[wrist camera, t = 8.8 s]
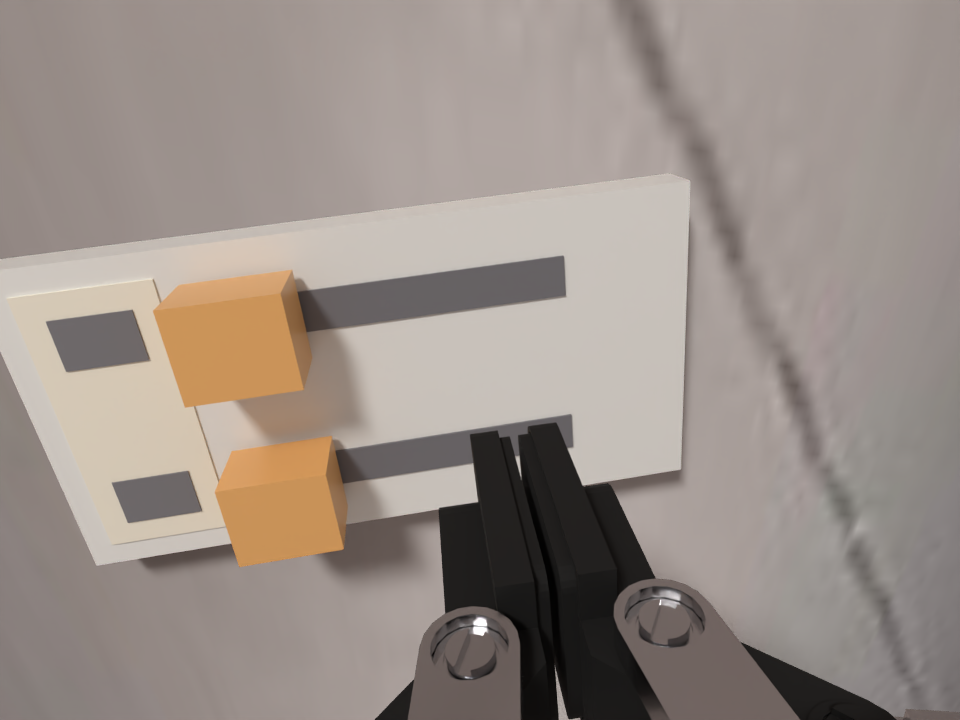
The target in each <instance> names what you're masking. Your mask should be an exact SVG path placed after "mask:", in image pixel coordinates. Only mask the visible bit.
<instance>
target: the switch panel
mask: <svg viewBox="0 0 960 720" xmlns="http://www.w3.org/2000/svg"><path fill="white" fill-rule="evenodd" d="M689 206H690V180H687V179H684V178H681V177H678V176H676V175H673V174H670V173H668V174H660V175H652V176H644V177H637V178H629V179H621V180H613V181H605V182H598V183H590V184H582V185H574V186H566V187H559V188H551V189H543V190H535V191H527V192H520V193H512V194H504V195H496V196H489V197H481V198H473V199H465V200H457V201H450V202H442V203H434V204H426V205H418V206H411V207H403V208H395V209H387V210H379V211H372V212H364V213H356V214H348V215H340V216H333V217H325V218H317V219H309V220H301V221H294V222H286V223H278V224H270V225H262V226H255V227H247V228H239V229H231V230H223V231H216V232H208V233H200V234H192V235H184V236H177V237H169V238H161V239H153V240H145V241H138V242H130V243H122V244H114V245H106V246H99V247H91V248H83V249H75V250H67V251H60V252H52V253H44V254H36V255H28V256H21V257H13V258H5V259H0V352H1V354H2V356H3V358H4V361H5V363H6V365H7V367H8V370H9V372H10V374H11V376H12V378H13V381H14V383H15V385H16V387H17V390H18V392H19V394H20V396H21V398H22V401H23V403H24V405H25V407H26V410H27V412H28V414H29V416H30V419H31V421H32V423H33V425H34V427H35V430H36V432H37V434H38V436H39V439H40V441H41V443H42V445H43V447H44V450H45V452H46V454H47V456H48V459H49V461H50V463H51V465H52V467H53V470H54V472H55V474H56V476H57V479H58V481H59V483H60V485H61V487H62V490H63V492H64V494H65V496H66V499H67V501H68V503H69V505H70V507H71V510H72V512H73V514H74V516H75V519H76V521H77V523H78V525H79V528H80V530H81V532H82V534H83V536H84V539H85V541H86V543H87V545H88V548H89V550H90V552H91V554H92V556H93V559H94V561H95V563H96V565H97V566H98V565H104V564H110V563H116V562H122V561H128V560H134V559H140V558H146V557H152V556H158V555H164V554H170V553H176V552H183V551H189V550H195V549H201V548H207V547H213V546H219V545H225V544H231V540H230V537H229V534H228V531H227V528H226V525H225V522H224V519H223V516H222V513H221V510H220V507H219V504H218V501H217V498H216V495H215V490H216V487H217V485H218V483H219V480H220V478H221V475H222V473H223V471H224V468H225V466H226V463H227V461H228V459H229V456H230V454H231V451H236V450H243V449H249V448H256V447H262V446H269V445H275V444H282V443H288V442H295V441H301V440H308V439H314V438H321V437H327V436H332V439H333V443H334V447H335V452H336V456H337V460H338V465H339V469H340V473H341V478H342V482H343V486H344V491H345V495H346V500H347V504H348V511H347V521H346V525H347V524H353V523H359V522H365V521H371V520H377V519H383V518H389V517H395V516H401V515H407V514H413V513H419V512H426V511H432V510H438V509H439V508H441V507H447V506H454V505H461V504H468V503H475V502H478V497H477V489H476V481H475V473H474V466H473V458H472V450H471V442H470V434H475V433H482V432H489V431H496V430H497V431H498V434H499V438H500V437H507V436H510V439H511V443H512V446H513V450H514V454H515V457H516V461H517V465H518V469H519V472H520V476H521V468H520V456H519V445H518V435H522V434H528V426H532V425H539V424H546V423H553V422H556V423H557V425H558V427H559V429H560V432H561V434H562V437H563V439H564V441H565V444H566V446H567V449H568V451H569V454H570V456H571V458H572V461H573V463H574V466H575V468H576V471H577V473H578V475H579V478H580V480H581V483H582V485H590V484H596V483H602V482H608V481H614V480H620V479H626V478H632V477H638V476H644V475H650V474H656V473H662V472H668V471H675V470H681V452H682V421H683V391H684V360H685V329H686V298H687V267H688V237H689ZM286 270H292V271H293V275H294V280H295V284H296V288H297V293H298V297H299V301H300V306H301V310H302V314H303V319H304V323H305V327H306V332H307V336H308V340H309V345H310V349H311V353H312V362H311V365H310V369H309V373H308V376H307V380H306V384H305V388H304V390H301V391H294V392H287V393H281V394H274V395H267V396H260V397H254V398H247V399H240V400H233V401H227V402H220V403H213V404H206V405H200V406H193V407H186V408H185V406H184V403H183V400H182V397H181V394H180V391H179V388H178V385H177V382H176V379H175V376H174V373H173V370H172V367H171V364H170V361H169V358H168V355H167V352H166V349H165V346H164V343H163V340H162V337H161V334H160V331H159V328H158V325H157V322H156V319H155V316H154V313H153V310H154V309H155V308H156V307H157V306H158V305H159V304H160V303H161V302H162V301H163V300H164V299H165V298H166V297H167V296H168V295H169V294H170V293H171V292H172V291H173V290H174V289H175V288H176V287H177V286H178V285H182V284H189V283H196V282H204V281H211V280H219V279H226V278H234V277H241V276H249V275H256V274H264V273H271V272H279V271H286ZM521 480H522V479H521Z"/></svg>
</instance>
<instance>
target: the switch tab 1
mask: <svg viewBox="0 0 960 720" xmlns="http://www.w3.org/2000/svg"><path fill="white" fill-rule="evenodd" d="M153 313H154V316H155V319H156V322H157V325H158V328H159V331H160V334H161V337H162V340H163V343H164V346H165V349H166V352H167V355H168V358H169V361H170V364H171V367H172V370H173V373H174V376H175V379H176V382H177V385H178V388H179V391H180V394H181V397H182V400H183V403H184V406H185V408H186V407H193V406H200V405H206V404H213V403H220V402H227V401H233V400H240V399H247V398H254V397H260V396H267V395H274V394H281V393H287V392H294V391H301V390H304V388H305V384H306V380H307V376H308V373H309V369H310V365H311V362H312V353H311V349H310V345H309V340H308V336H307V332H306V327H305V323H304V319H303V314H302V310H301V306H300V301H299V297H298V293H297V288H296V284H295V280H294V275H293V271H292V270H286V271H279V272H271V273H264V274H256V275H249V276H241V277H234V278H226V279H219V280H211V281H204V282H196V283H189V284H182V285H178V286H177V287H176V288H175V289H174V290H173V291H172V292H171V293H170V294H169V295H168V296H167V297H166V298H165V299H164V300H163V301H162V302H161V303H160V304H159V305H158V306H157V307H156V308H155V309H154V310H153Z"/></svg>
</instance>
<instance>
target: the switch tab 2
mask: <svg viewBox="0 0 960 720" xmlns="http://www.w3.org/2000/svg"><path fill="white" fill-rule="evenodd" d="M215 495H216V498H217V501H218V504H219V507H220V510H221V513H222V516H223V519H224V522H225V525H226V528H227V531H228V534H229V537H230V540H231V543H232V546H233V549H234V552H235V555H236V558H237V561H238V564H239V567H242V566H248V565H254V564H260V563H266V562H272V561H278V560H284V559H290V558H296V557H302V556H308V555H314V554H320V553H326V552H332V551H338V550H344V543H345V532H346V521H347V511H348V504H347V500H346V495H345V491H344V486H343V482H342V478H341V473H340V469H339V465H338V460H337V456H336V452H335V447H334V443H333V439H332V436H327V437H321V438H314V439H308V440H301V441H295V442H288V443H282V444H275V445H269V446H262V447H256V448H249V449H243V450H236V451H231V454H230V456H229V459H228V461H227V463H226V466H225V468H224V471H223V473H222V475H221V478H220V480H219V483H218V485H217V487H216V490H215Z"/></svg>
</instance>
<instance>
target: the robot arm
mask: <svg viewBox="0 0 960 720" xmlns="http://www.w3.org/2000/svg"><path fill="white" fill-rule="evenodd" d="M470 442H471V450H472V458H473V466H474V473H475V481H476V489H477V497H478V502H475V503H468V504H461V505H454V506H447V507H441V508H439V523H440V538H441V553H442V569H443V584H444V599H445V614H444V615H442V616H441V617H440V618H438V619H437V620H436V621H434V622H433V623H432V624H431V626H430V627H429V628H428V630H427V631H426V632H425V633H424V635H423V638H422V641H421V644H420V647H419V653H418V659H417V665H416V672H415V678H414V680H413V681H412V682H411V683H410V684H409V685H408V686H407V687H406V688H405V689H404V690H403V691H402V692H401V693H400V694H399V695H398V696H397V697H396V698H395V699H394V700H393V701H392V702H391V703H390V704H389V705H388V706H387V708H386V709H385V710H384V711H383V712H382V713H381V714H380V715H379V716H378V717H377V718H376V719H375V720H559V718H558V704H557V690H556V677H555V667H556V671H557V675H558V679H559V684H560V688H561V692H562V696H563V700H564V704H565V708H566V712H567V716H568V718H569V719H574V718H580V719H581V720H960V712H949V711H932V710H915V709H906V710H905V714H904V717H893V716H892V715H891V714H890V713H889V712H887V711H886V710H884V709H882V708H880V707H879V706H877V705H875V704H873V703H872V702H870V701H868V700H866V699H864V698H862V697H859V696H857V695H855V694H853V693H851V692H848V691H846V690H844V689H842V688H840V687H838V686H835V685H833V684H831V683H829V682H827V681H824V680H822V679H820V678H818V677H816V676H814V675H811V674H809V673H807V672H805V671H803V670H800V669H798V668H796V667H794V666H792V665H789V664H787V663H785V662H783V661H781V660H779V659H776V658H774V657H772V656H770V655H768V654H765V653H763V652H761V651H759V650H757V649H755V648H752V647H750V646H748V645H746V644H744V643H741V642H740V641H739V640H738V639H737V637H736V636H735V635H734V634H733V632H732V631H731V630H730V628H729V627H728V626H727V625H726V623H725V622H724V621H723V619H722V618H721V617H720V615H719V614H718V613H717V612H716V610H715V609H714V608H713V606H712V605H711V604H710V603H709V602H708V601H707V600H706V599H705V598H704V597H703V596H702V595H701V594H700V593H699V592H698V591H696V590H694V589H693V588H691V587H689V586H687V585H686V584H683V583H679V582H676V581H673V580H667V579H656V578H655V576H654V574H653V572H652V570H651V568H650V566H649V564H648V562H647V559H646V557H645V555H644V553H643V551H642V549H641V547H640V545H639V543H638V541H637V539H636V536H635V534H634V532H633V530H632V528H631V526H630V524H629V522H628V520H627V518H626V516H625V514H624V511H623V509H622V507H621V505H620V503H619V501H618V499H617V497H616V495H615V493H614V491H613V489H612V487H611V485H609V484H608V483H607V484H600V485H593V486H586V487H583V485H582V483H581V480H580V478H579V475H578V473H577V471H576V468H575V466H574V463H573V461H572V458H571V456H570V454H569V451H568V449H567V446H566V444H565V441H564V439H563V437H562V434H561V432H560V429H559V427H558V425H557V423H556V422H553V423H546V424H539V425H532V426H528V434H522V435H518V445H519V456H520V468H521V476H520V472H519V469H518V465H517V461H516V457H515V454H514V450H513V446H512V443H511V439H510V436H507V437H500V438H499V434H498V431H497V430H496V431H489V432H482V433H475V434H470ZM521 479H522V480H521Z"/></svg>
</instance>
